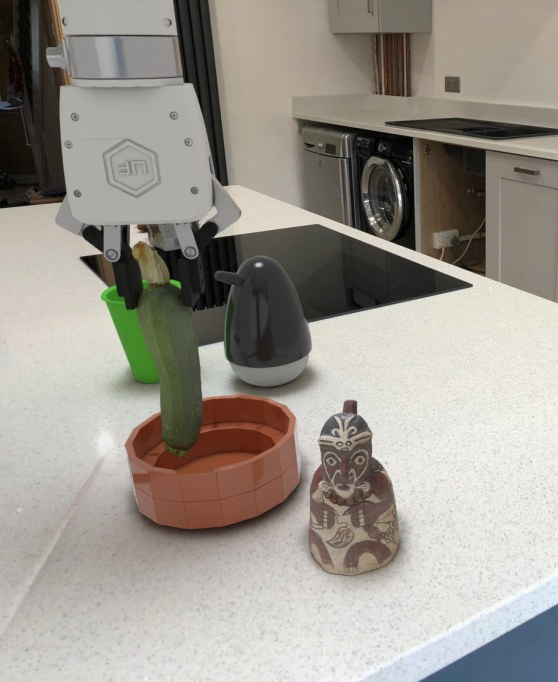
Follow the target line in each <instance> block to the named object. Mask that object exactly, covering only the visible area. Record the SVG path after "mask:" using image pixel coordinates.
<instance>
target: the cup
mask: <svg viewBox="0 0 558 682" xmlns="http://www.w3.org/2000/svg"><path fill="white" fill-rule="evenodd" d="M142 281H143V288H144V290H145V289H146V288H147V286H148V285H149V283H148V282H147V281H145V279H144V278H143V279H142ZM170 283H171V284H173V285H175V286H177V287H179V288H180V289H181V286H180V281H178V280H175V279H170ZM100 299H101V300H102V301H103V302H105V304H106V306H107V309H108V312H109V315H110V318H111V320H112V323H113V325H114V328H115V330H116V333H117V335H118V338H119V341H120V343H121V346H122V349H123V352H124V354H125V357H126V359H127V361H128V364H129V367H130V370H131V372H132V374H133V377H134V378H135V380H137V382H140V383H141V384H160V381H159V376H158V372H157V370H156V367H155V364H154V362H153V359H152V357H151V355H150V353H149V351H148V348H147V346H146V343H145V340H144V338H143V335H142V333H141V330H140V327H139V324H138V319H137V311H136V308H135V309H134V310H127V309H126V306H125V301H124V297H119V296H118V294H117V289H116V284H115V285H112V286H110V287H108V288H106V289H104V290H103V291H102V292H101V294H100Z"/></svg>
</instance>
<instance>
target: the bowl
mask: <svg viewBox="0 0 558 682" xmlns="http://www.w3.org/2000/svg"><path fill="white" fill-rule="evenodd" d="M202 400H203V412H202V424H201V430H200V435H199V438H198V440H197V442H196V443H195V445H194V446H192V447H191V449H190V451H189V452H188V454H187V455H186V456H185V457H184V458H180V457H178V456H177V455H175V456H172V454H171V453H170V452H166V451H165V449H164V440H163V438H162V421H161V411H158V412H156V413H154V414H152V415H150V416H149V417H147V418H146V419H145V420H144V421H142V422H141V423H140V424H138V425H137V426H135V427H134V428H132V430H131V432H130V433H129V436H128V438H127V439H126V441H125V443H124V445H123V446H124V451H125V455H126V461H127V464H128V470H129V475H130V481H131V484H132V490H133V495H134V498H135V502H136V505H137V509H138V512H139V513H140V514H142V515H143V516H145V517H146V518H148V519H149V520H151V521H153V522H154V523H156V524H157V525H161V526H166V527H171V528H178V529H184V530H198V529H209V528H221V527H227V526H230V525H234V524H237V523H240V522H243V521H247V520H250V519H253V518H256V517H259V516H261V515H263V514H264V513H266V512H267V511H270V510H271V509H272V508H273V509H274V508H275V507H276V506H278V505H280V504H281V503H283V502H284V501H286V500H287V498H288V497H289V496H290V495H291V494H292V493H293V491H294V490H295V489H296V488H297V487H298V485H299V484H300V479H301V471H302V461H301V452H300V443H299V442H300V440H299V433H298V432H299V431H298V421H297V420H298V419H297V417H296V415H294V413H293V411H292V410H291V409H290V408H289V407H288V406H287V405H285V404H283V403H281V402H278V401H276V400H273V399H271V398H269V397H263V396H255V395H246V394H230V395H215V396H214V395H213V396H207V397H202Z"/></svg>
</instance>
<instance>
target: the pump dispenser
mask: <svg viewBox="0 0 558 682" xmlns="http://www.w3.org/2000/svg"><path fill="white" fill-rule="evenodd" d="M214 278H215V280H216V281H219V282H222V283H226V284H229V285H230V288H229V292H228V296H227V300H226V305H225V311H224V318H223V319H224V320H223V353H224V358H225V359H226V360H227V361H228V362H229V365H230V367H231V369H232V370H233V372H234V374H235V375H236V376H237V377H238V378H239V379H240V380H242V381H243V382H245V383H247V384H250V385H252V386H256V387H267V388H269V387H277V386H281V385H284V384H287V383H289V382H291V381H293V380H294V379H296V378H298V376H300V375H301V374H302V372H303V371H304V370H305V368H306V367H307V364H308V362H309V358H310V353H311V352H312V349H313V340H312V334H311V330H310V324H309V321H308V317H307V313H306V311H305V308H304V305H303V302H302V300H301V297H300V295H299V292H298V290H297V288H296V286H295V284H294V283H293V280H292V279H291V277H290V276H289V273H288V272H287V271H286V269H285V268H284V267H283V266H282V264H281V263H280V262H278V261H277V260H276V259H274V258H272V257H270V256H266V255H255V256H251V257H249V258H247V259H246V260H244V261H243V262H242V263H241V264H240V265H239V267H238V269H237V271H236V272H231V271H224V270H223V271H222V270H217V271H216V272H215V273H214Z"/></svg>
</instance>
